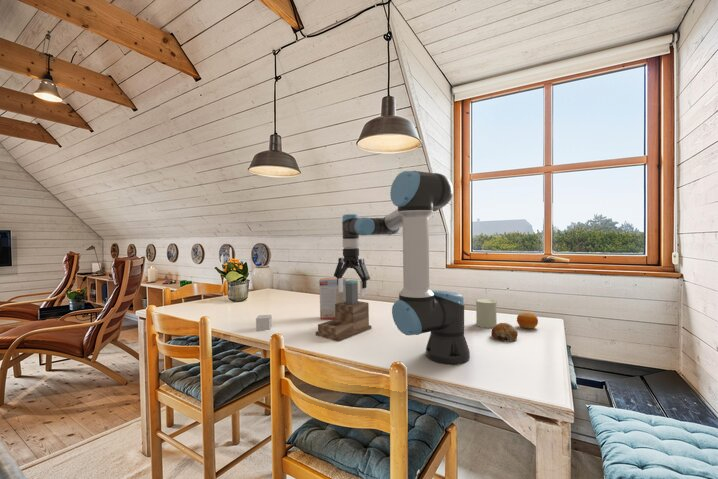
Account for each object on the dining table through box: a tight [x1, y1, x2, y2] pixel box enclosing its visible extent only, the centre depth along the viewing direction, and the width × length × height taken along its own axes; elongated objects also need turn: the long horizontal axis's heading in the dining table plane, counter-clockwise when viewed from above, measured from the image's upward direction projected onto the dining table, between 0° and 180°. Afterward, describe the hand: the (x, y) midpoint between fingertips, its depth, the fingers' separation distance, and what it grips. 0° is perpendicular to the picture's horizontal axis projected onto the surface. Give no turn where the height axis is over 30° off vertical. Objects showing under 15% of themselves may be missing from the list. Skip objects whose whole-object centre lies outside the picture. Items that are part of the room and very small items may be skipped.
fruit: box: [516, 312, 539, 329], centre depth 150 cm, size 8×8×8 cm
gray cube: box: [255, 314, 273, 332], centre depth 155 cm, size 6×6×6 cm
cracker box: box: [318, 277, 348, 320], centre depth 172 cm, size 14×6×21 cm, turn 88°
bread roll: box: [491, 322, 518, 342], centre depth 136 cm, size 10×10×8 cm
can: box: [475, 298, 498, 329], centre depth 154 cm, size 9×9×12 cm
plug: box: [345, 279, 359, 305], centre depth 152 cm, size 4×4×14 cm
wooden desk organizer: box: [315, 300, 373, 342], centre depth 148 cm, size 14×22×12 cm, turn 140°
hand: (351, 293), depth 152 cm, fingers open, 13 cm apart
